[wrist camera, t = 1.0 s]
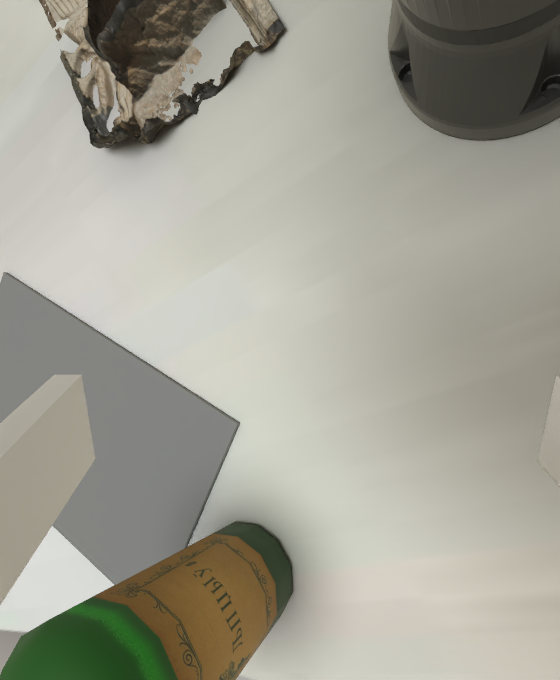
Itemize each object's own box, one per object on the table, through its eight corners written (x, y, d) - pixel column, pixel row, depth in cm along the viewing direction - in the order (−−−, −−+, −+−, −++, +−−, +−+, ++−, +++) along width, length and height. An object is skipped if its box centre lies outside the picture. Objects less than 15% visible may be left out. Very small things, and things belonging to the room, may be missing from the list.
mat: (239, 423, 42) (237, 423, 41) (155, 619, 46) (152, 621, 45) (6, 272, 56) (3, 272, 56) (-42, 431, 60) (-46, 432, 60)
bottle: (322, 628, 38) (-37, 1178, 13) (218, 636, 43) (-202, 1058, 17) (285, 497, 40) (-101, 762, 15) (188, 518, 44) (-237, 749, 19)
